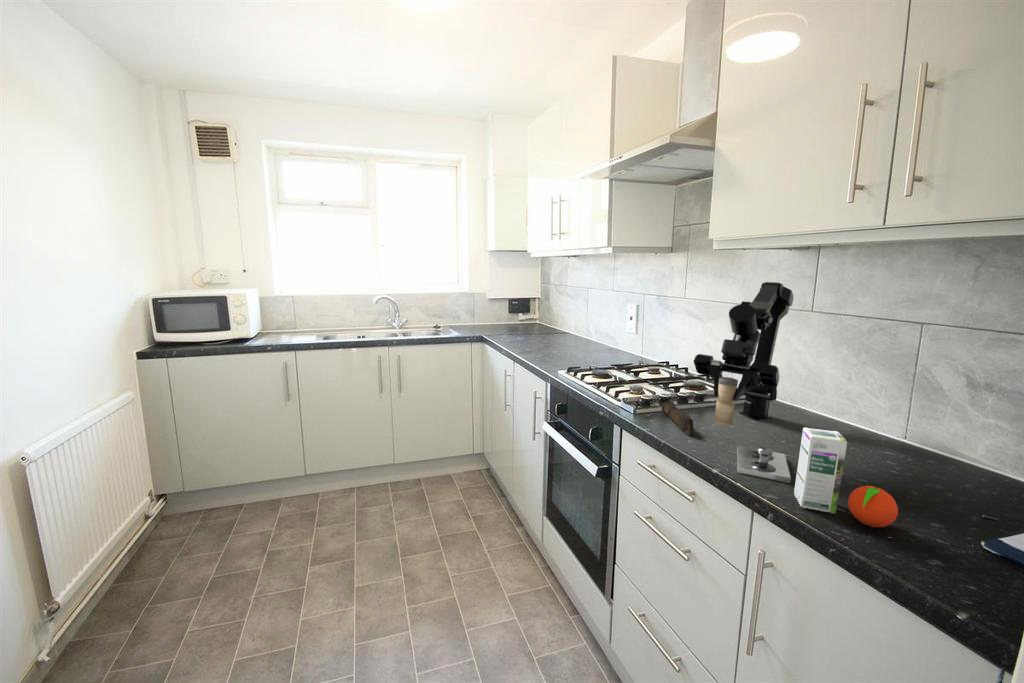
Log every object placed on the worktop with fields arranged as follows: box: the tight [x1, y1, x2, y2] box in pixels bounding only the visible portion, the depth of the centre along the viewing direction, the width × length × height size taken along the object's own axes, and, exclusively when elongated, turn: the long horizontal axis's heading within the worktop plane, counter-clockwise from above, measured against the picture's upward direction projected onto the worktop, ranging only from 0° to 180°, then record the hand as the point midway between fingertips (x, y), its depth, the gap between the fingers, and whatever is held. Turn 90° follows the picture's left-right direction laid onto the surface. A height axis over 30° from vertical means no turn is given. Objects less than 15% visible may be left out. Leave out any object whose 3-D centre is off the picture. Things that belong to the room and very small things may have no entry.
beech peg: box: [714, 376, 739, 427], centre depth 108 cm, size 4×4×11 cm
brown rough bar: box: [661, 401, 694, 437], centre depth 127 cm, size 19×4×5 cm, turn 176°
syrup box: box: [793, 427, 848, 515], centre depth 85 cm, size 6×6×14 cm
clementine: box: [847, 485, 899, 528], centre depth 79 cm, size 8×7×7 cm
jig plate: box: [736, 445, 791, 484], centre depth 101 cm, size 14×10×5 cm
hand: (724, 398), depth 107 cm, fingers closed on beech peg, 4 cm apart
